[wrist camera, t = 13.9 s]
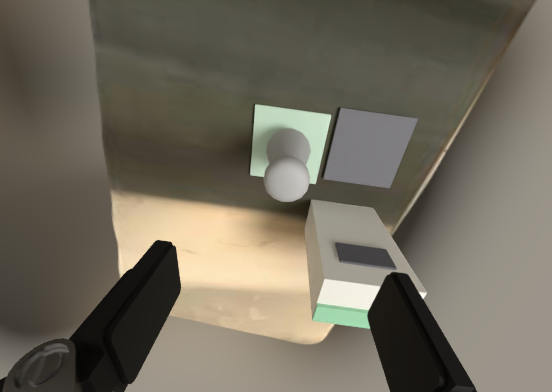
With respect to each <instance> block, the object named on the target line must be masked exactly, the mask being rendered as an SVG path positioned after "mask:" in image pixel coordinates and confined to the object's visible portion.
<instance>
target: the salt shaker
mask: <svg viewBox="0 0 552 392" xmlns="http://www.w3.org/2000/svg"><path fill="white" fill-rule="evenodd" d="M310 152H311V149H310V145H309V141H308V139H307V138H306V137H305V135H304V134H303V133H302V132H300V131H297V130H295V129H293V128H288V129H281V130H279V131H277V132H276V133H274V134H273V135H272V136H271V138H270V139H269V141H268V142H267V148H266V154H267V157H268V161H269V165H268V166H267V168H266V169H265V174H264V184H265V188H266V191H267V192H268V193H269V194H270V195H271V196H272V197H273V198H274V199H276V200H279V201H281V202H292V201H295V200H297V199H299V198H301V197H302V196H303V195H304V194H305V193H306V191H307V189H308V186H309V182H310V176H309V172H308V168H307V167H306V164H307V162H308V159H309V155H310Z"/></svg>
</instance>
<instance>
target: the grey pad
mask: <svg viewBox="0 0 552 392" xmlns="http://www.w3.org/2000/svg"><path fill="white" fill-rule="evenodd" d="M417 120H418V119H417V118H412V117H405V116H398V115H390V114H383V113H376V112H369V111H362V110H355V109H348V108H340V110H339V114H338V118H337V122H336V126H335V130H334V134H333V139H332V143H331V147H330V151H329V155H328V159H327V163H326V167H325V171H324V175H323V179H327V180H334V181H342V182H349V183H356V184H363V185H370V186H378V187H385V188H390V186H391V184H392V181H393V179H394V176H395V174H396V172H397V169H398V167H399V164H400V162H401V159H402V157H403V154H404V152H405V150H406V147H407V145H408V142H409V140H410V137H411V135H412V132H413V130H414V128H415V125H416V123H417Z"/></svg>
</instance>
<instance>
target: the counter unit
mask: <svg viewBox="0 0 552 392" xmlns="http://www.w3.org/2000/svg"><path fill="white" fill-rule="evenodd" d="M304 230H305V241H306V253H307V264H308V276H309V287H310V298H311V310H312V321H318V322H325V323H332V324H340V325H347V326H354V327H362V328H369V329H370V326H369V322H368V318H367V314H368V311H369V309H370V307H371V305H372V303H373V301H374V299H375V297H376V295H377V293H378V291H379V289H380V287H381V285H382V283H383V281H384V279H385V277H386V276H387V275H390V273H391V272H399V273H406V274H408V275H409V277H410V278H411V280H412V282H413V283H414V285H415V287H416V288H417V290H418V292H419V293H420V295H421V297H422V298H424V297H425V295H426V294H427V292H426V290H425V289H424V287H423V286H422V284H421V283H420V281H419V280H418V278H417V276H416V275H415V273H414V272H413V270H412V269H411V267H410V265H409V264H408V262H407V261H406V259H405V257H404V256H403V254H402V253H401V251H400V250H399V248H398V247H397V245H396V243H395V242H394V240H393V239H392V237H391V235H390V234H389V232H388V231H387V229H386V228H385V226H384V224H383V223H382V221H381V220H380V218H379V217H378V215H377V213H376V212H375V210H374V209H373V208H370V207H363V206H356V205H348V204H341V203H334V202H327V201H319V200H312V199H311V203H310V207H309V212H308V216H307V220H306V225H305V229H304Z"/></svg>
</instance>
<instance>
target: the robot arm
mask: <svg viewBox="0 0 552 392" xmlns="http://www.w3.org/2000/svg"><path fill="white" fill-rule="evenodd" d="M180 290H181V283H180V276H179V268H178V260H177V252H176V247H175V246H173V245H172V242H168V241H161V240H157V241H155V242H154V243H153V245H152V246H151V247H150V248H149V249H148V251H147V252H146V253H145V254H144V255H143V257H142V258H141V259H140V260H139V261H138V263H137V264H136V265H135V266H134V267H133V269H130V270H128V271H127V272H126V273H125V274H124V275H123V276H122V277H121V278H120V280H119V281H118V282H117V283H116V284H115V286H114V287H113V288H112V289H111V290H110V291H109V293H108V294H107V295H106V296H105V297H104V298H103V300H102V301H101V302H100V303H99V304H98V305H97V307H96V308H95V309H94V310H93V311H92V313H91V314H90V315H89V316H88V317H87V319H86V320H85V321H84V322H83V323H82V324H81V325H80V327H79V328H78V329H77V330H76V331H75V333H74V334H73V335H72V336H71V337H70V338H69V339H65V338H60V339H53V340H50V341H47V342H44V343H42V344H40V345H38V346H37V347H35V348H33V349H32V350H30V351H29V352H28V353H26V354H25V355H24V356H23V357H22V358H20V359H19V360H18V361H17V362H16V363H15V365H14V366H13V367H12V369H11V370H10V371H9V373H8V375H7V377H5V378H3V379H1V380H0V392H124V391H125V389H126V387H127V385H128V384H131V383H133V382H134V380H135V379H136V377H137V375H138V373H139V371H140V369H141V367H142V365H143V363H144V362H145V360H146V358H147V356H148V354H149V352H150V350H151V348H152V346H153V344H154V342H155V340H156V338H157V336H158V335H159V333H160V330H161V329H162V327H163V325H164V323H165V321H166V319H167V317H168V315H169V313H170V311H171V309H172V308H173V306H174V304H175V302H176V300H177V298H178V296H179V294H180ZM367 318H368V322H369V326H370V329H371V332H372V335H373V338H374V341H375V345H376V348H377V351H378V354H379V357H380V361H381V364H382V367H383V370H384V373H385V377H386V380H387V383H388V386H389V389H390V392H477V391H476V389H475V386H474V385H473V383H472V381H471V380H470V378H469V376H468V375H467V373H466V371H465V370H464V368H463V366H462V364H461V363H460V361H459V359H458V358H457V356H456V354H455V353H454V351H453V349H452V348H451V346H450V344H449V343H448V341H447V339H446V337H445V336H444V334H443V332H442V331H441V329H440V327H439V326H438V324H437V322H436V320H435V319H434V317H433V315H432V314H431V312H430V310H429V309H428V307H427V305H426V304H425V302H424V300H423V298H422V297H421V295H420V293H419V292H418V290H417V288H416V287H415V285H414V283H413V282H412V280H411V278H410V277H409V275H408V274H406V273H399V272H391V273H390V275H387V276H386V277H385V279H384V281H383V283H382V285H381V287H380V289H379V291H378V293H377V295H376V297H375V299H374V301H373V303H372V305H371V307H370V309H369V311H368V314H367Z"/></svg>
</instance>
